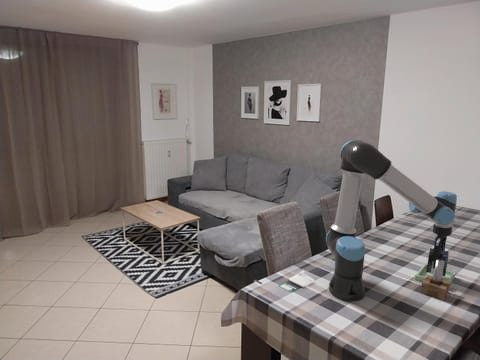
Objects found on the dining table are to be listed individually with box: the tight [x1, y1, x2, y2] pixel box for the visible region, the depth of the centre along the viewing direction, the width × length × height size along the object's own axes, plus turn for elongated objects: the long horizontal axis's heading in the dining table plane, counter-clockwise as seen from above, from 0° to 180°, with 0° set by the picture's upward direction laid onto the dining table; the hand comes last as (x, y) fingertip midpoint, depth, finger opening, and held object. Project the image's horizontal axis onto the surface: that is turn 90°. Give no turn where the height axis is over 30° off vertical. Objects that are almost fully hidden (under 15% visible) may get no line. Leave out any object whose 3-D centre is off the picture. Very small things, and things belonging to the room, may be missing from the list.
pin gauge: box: [432, 259, 445, 285], centre depth 150 cm, size 3×3×15 cm
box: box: [426, 247, 449, 276], centre depth 162 cm, size 8×6×11 cm
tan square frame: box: [420, 275, 451, 301], centre depth 152 cm, size 9×9×5 cm
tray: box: [414, 263, 456, 288], centre depth 164 cm, size 16×14×2 cm
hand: (436, 271), depth 164 cm, fingers closed on box, 6 cm apart
